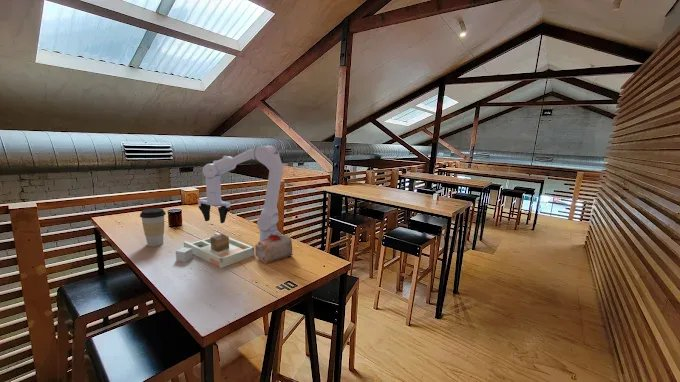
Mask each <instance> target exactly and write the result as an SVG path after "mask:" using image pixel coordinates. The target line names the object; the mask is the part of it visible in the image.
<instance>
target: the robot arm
mask: <svg viewBox="0 0 680 382" xmlns="http://www.w3.org/2000/svg"><path fill="white" fill-rule="evenodd" d="M250 160H256V161H258V162H259V163H260V164H262V165H263V166H265V167H266V168H267V169H268V170H269V171H268V172H269V173H268V179H267V185H266V192H265V197H264V203H263V204H264V205H263V209H262V210H261V212H260V216H259V218H257V221H256V225H257V227H258V229H259V241H262V240H265V239H268V236H270V234H271V233H272V234H273V235H278V236H282V235H283V234H282V233H281V232H280V231H279V230H278V227H277V224H278V223H279V220H280V217H279V209H278V201H279V196H280V188H281V184H282V178H283V172H284V166H283V162H282V160H281V157H280V151H278V149H277V148H276V147H275V146H274V145H271V144H270V145H263V146H262V145H260V146H258V147H253V148H250V149H248V150H246V151H244V152H243V151H242V152H241V153H240V154H238V155H236V156H230V155H228V156H227V155H223V156H222V158H220V159H218V160H213V161H212V163H206V164H205V165H204V166H203V167H202V174H203V175H204V177H205V186H206V188H205V190H206V199H201V198H200V199H198V200H197V203H198V205H199V206H198V209H199V210H200V212H201V214H202V216H203V218H204V221H205V222H209V221H210V219H211V214H210V213H211V207H212V206H215V207H218V208H217V211H218V215H219V223H220V224H224V223H225V222H226V218H227V215H228V212H229V211H230V208H231V201H230V202H229V201H225V200H222V185H221V182H222V181H221V179H222V175H223V174H225V173H227V172H230V171H232V170H235V169H236V167H237V165H239V164H241V163H244V162H246V161H250Z"/></svg>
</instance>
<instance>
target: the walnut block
mask: <svg viewBox="0 0 680 382" xmlns="http://www.w3.org/2000/svg"><path fill="white" fill-rule="evenodd" d="M209 238H210V240H211V249H213V250H215V251H217V252H219V251H222V250H225V249H228V248H229V238H230V236H228V235H225V234H223V233H219V235H216V236H215V235H214V236H213V235H212V236H210V237H209Z"/></svg>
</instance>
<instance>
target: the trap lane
mask: <svg viewBox="0 0 680 382" xmlns="http://www.w3.org/2000/svg"><path fill="white" fill-rule="evenodd" d="M219 234H220V233H219V232H214V236H216V235H219ZM183 247H186V248H192V252H193V255H194V256H196V257H197V258H200V259H202V260H204V261H207V263H210V264H212V265H214V266H216V267H218V268H220V269H223V268H225V267H227V266H229V265H232V264H235V263H238V262H241V261H242V260H246V259H249V258H250V257H253V256H255V246H252V245H249V244H247V243H244V242H242V241H240V240H237V239H234V238H232V237H229V248H228V249H225V250H222V251H219V252H217V251H215V250H213V249H211V240H210V237H207V238H204V239H201V240H197V241H194V242H189V241H188V240H185V241H183Z"/></svg>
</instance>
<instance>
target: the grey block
mask: <svg viewBox="0 0 680 382" xmlns="http://www.w3.org/2000/svg"><path fill="white" fill-rule="evenodd" d="M193 255H194V254H193V252H192V248H186V247H184V246H183V247H181V248H179V249H177V250H175V260H176V261H177V262H182V263H186V262H189V261H190V260H192V259H194V256H193Z"/></svg>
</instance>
